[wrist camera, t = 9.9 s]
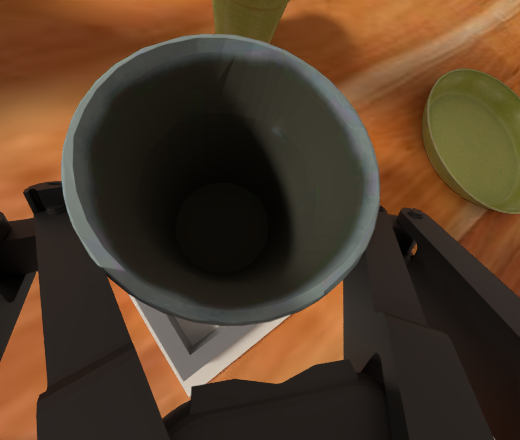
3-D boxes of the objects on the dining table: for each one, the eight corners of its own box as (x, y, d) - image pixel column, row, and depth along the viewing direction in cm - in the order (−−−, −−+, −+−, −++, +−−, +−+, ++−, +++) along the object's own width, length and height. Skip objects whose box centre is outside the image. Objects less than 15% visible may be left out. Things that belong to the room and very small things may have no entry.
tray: (70, 187, 20) (46, 173, 17) (242, 113, 25) (247, 93, 22) (190, 390, 18) (186, 413, 15) (344, 266, 24) (362, 266, 21)
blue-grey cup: (141, 278, 16) (-14, 298, 5) (176, 156, 19) (125, -16, 8) (273, 298, 18) (381, 346, 7) (288, 184, 21) (386, 79, 9)
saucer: (393, 180, 28) (416, 169, 25) (418, 63, 34) (439, 43, 31) (521, 242, 30) (556, 239, 27) (523, 124, 36) (552, 111, 33)
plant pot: (291, 71, 28) (326, -14, 19) (219, 84, 25) (225, -7, 17) (261, 9, 29) (283, -96, 20) (189, 16, 26) (180, -101, 18)
